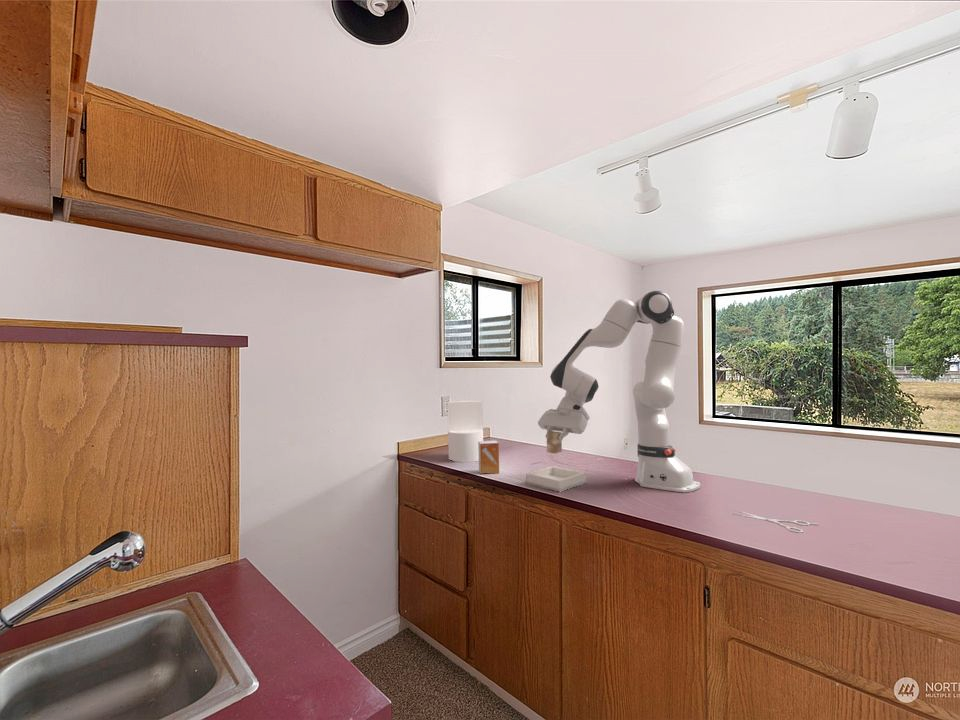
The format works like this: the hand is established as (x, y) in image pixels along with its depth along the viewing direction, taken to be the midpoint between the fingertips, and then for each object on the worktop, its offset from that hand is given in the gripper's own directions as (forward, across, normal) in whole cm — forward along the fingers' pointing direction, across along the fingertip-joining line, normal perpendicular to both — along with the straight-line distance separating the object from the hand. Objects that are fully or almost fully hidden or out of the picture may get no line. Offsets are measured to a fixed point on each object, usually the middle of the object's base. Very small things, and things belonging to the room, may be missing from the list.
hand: (553, 438), depth 168 cm
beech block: (+3, 0, +4) cm, 5 cm away
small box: (+15, -32, +10) cm, 37 cm away
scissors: (+4, +68, +20) cm, 71 cm away
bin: (+12, 0, +13) cm, 17 cm away
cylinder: (+8, -60, +18) cm, 63 cm away
